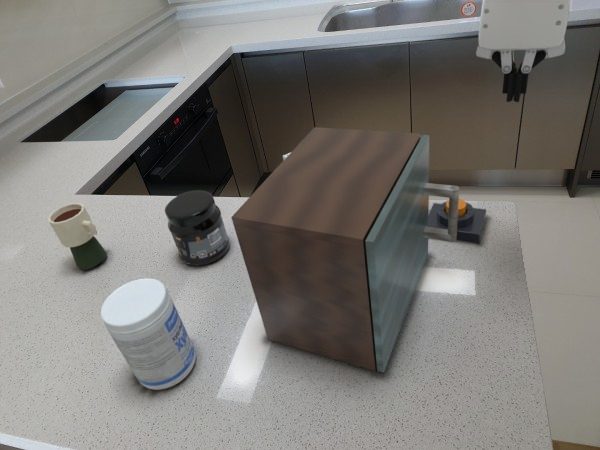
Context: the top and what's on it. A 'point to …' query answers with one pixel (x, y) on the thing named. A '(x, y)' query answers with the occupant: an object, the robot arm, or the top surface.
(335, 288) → the cupboard
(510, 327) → the top surface
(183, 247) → the supplement container
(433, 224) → the switch block
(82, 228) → the character mug
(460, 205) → the button
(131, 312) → the supplement tub
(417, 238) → the cupboard door
